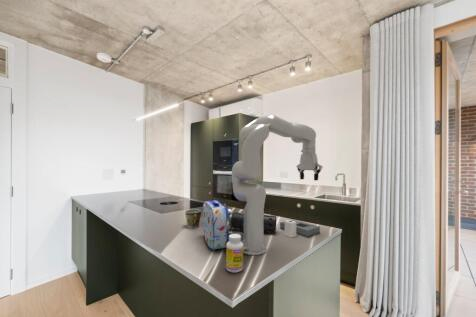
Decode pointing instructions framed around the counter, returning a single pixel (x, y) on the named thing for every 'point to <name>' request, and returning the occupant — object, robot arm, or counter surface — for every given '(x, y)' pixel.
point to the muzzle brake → (238, 222)
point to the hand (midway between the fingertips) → (308, 179)
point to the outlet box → (303, 228)
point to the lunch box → (215, 224)
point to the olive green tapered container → (193, 218)
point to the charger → (290, 228)
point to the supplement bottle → (234, 253)
